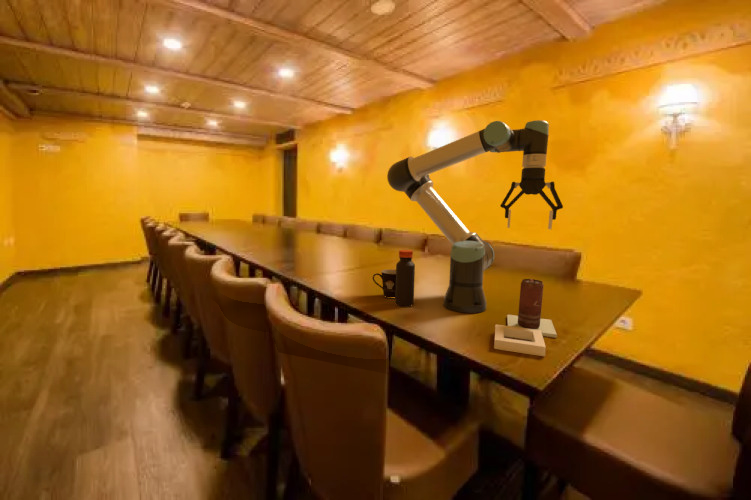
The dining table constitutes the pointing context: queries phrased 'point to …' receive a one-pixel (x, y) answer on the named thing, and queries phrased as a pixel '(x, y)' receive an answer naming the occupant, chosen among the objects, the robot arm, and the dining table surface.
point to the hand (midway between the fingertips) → (528, 228)
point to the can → (530, 303)
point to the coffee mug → (388, 282)
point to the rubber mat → (545, 328)
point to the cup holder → (519, 345)
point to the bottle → (405, 279)
